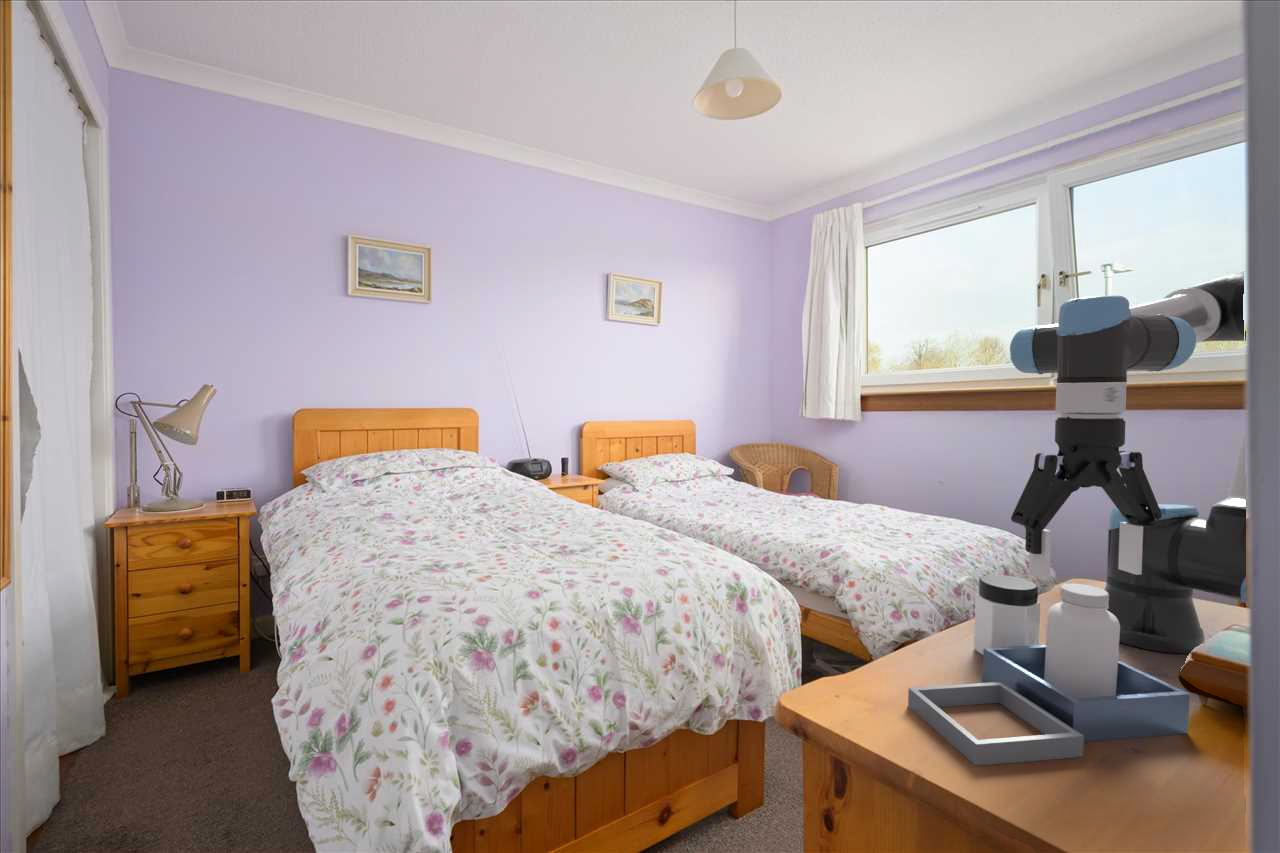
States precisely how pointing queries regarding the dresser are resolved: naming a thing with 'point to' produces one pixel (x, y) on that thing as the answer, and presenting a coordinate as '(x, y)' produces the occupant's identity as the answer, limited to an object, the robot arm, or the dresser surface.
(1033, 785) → the dresser surface
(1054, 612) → the pill bottle
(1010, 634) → the jar
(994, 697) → the frame
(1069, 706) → the bin
